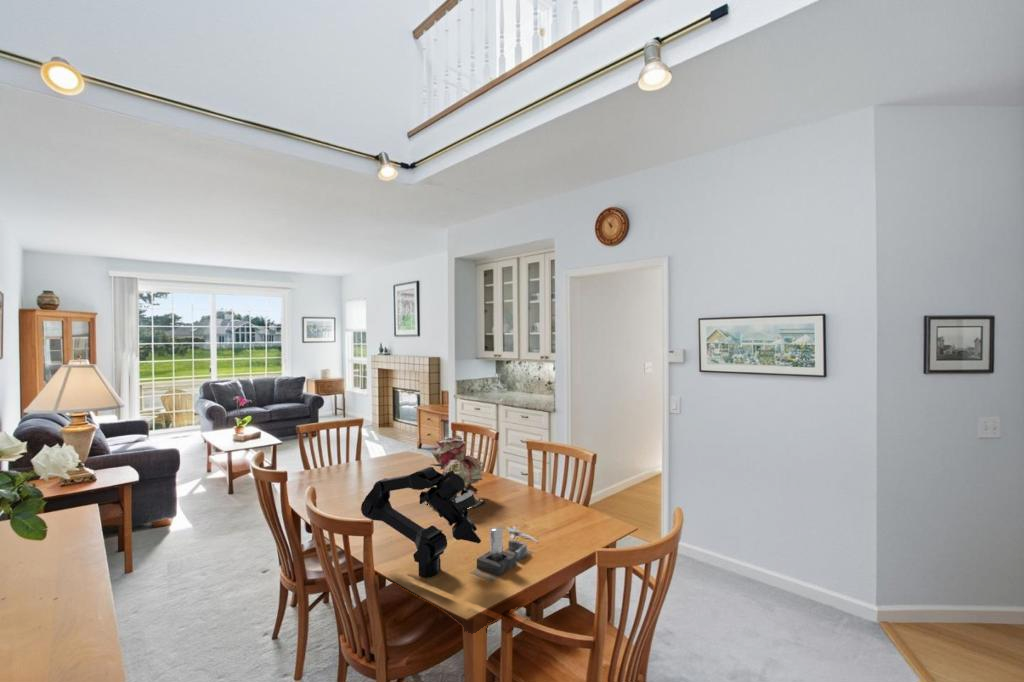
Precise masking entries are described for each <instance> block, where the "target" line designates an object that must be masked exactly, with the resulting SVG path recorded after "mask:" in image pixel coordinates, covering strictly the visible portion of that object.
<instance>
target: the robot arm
mask: <svg viewBox="0 0 1024 682" xmlns="http://www.w3.org/2000/svg"><path fill="white" fill-rule="evenodd" d="M436 486H437V487H436ZM404 489H411V490H415V491H421V492H420V494H419V496H418V497H419V505H422V504H425V503H428V504H429V505H430V506H431V507H432V509H433V508H434V509H435V510H434V509H433V510H434V511H435V512H437V514H438V516H439V518H443V519H444V520H446V521H447V522H448V526H450V527H451V534H452V537H453V538H454V539H455V540H456V541H460V540H462V541H465V542H466V541H467V542H471V543H474V544H477V545H479V544H481V542H482V539H480V537H479V536H478V534H477V532H476V531H477V530H478V527H477V526H476V525H475V523H474V521H473V520H472V519H471V518H470V515H469V514H468V513H469V512H468V511H469V509H467V508H469V507H471V506H474V505H475V504H476V503H477V501H476V499H475V498H476V497H475V494H474V492H473V491H471V490H467V489H465V483H464V480H463V478H462V477H460V476H459V475H458V474H455V473H454V472H453V470H452V471H450V472H448V473H447V474H446V475H443V473H440V472H439V471H438V470H436V469H435V468H434V467H432V466H428V467H425V468H423V469H421V470H416V471H415V472H413V473H411V474H406V475H401V476H400V475H399V476H395V477H390V478H383V479H380V480H377V481H376V482H375V483H374V484H373V488H372V489H371V490H370V491H369V492H368V494H367V495H366V496H365V498H364V500H363V501H362V502H361V507H360V511H361V514H362V516H364V517H365V518H367V519H369V520H371V521H378V522H383V523H385V524H386V525H387V526H389V527H391V529H394V530H395V531H397V532H398V533H400V535H403V537H406V538H407V539H409V540H410V541H412V542H413V543H414V545H415V548H416V549H417V550H416V551H415V552H414V553H413V559H414V563H417V564H418V576H419V577H420V578H424V579H428V578H433V577H436V576H437V575H439V572H440V571H441V569H442V568H441V565H442V564H441V558H440V557H441V555H443V554H444V552H445V550H446V549H447V547H448V539H447V536H446V534H445V533H443V529H442V530H441V529H439V528H437V527H436V526H435V525H433V524H432V525H430V526H429V527H426V528H424V527H423V526H421V525H420V524H418V523H416V522H415V521H414V520H412V519H411V518H409V517H407V516H406V515H404V514H402V513H400V512H399V511H397V510H396V509H394V508H393V507H392V504H391V502H390V498H391V492H392V491H397V490H398V491H399V490H404ZM425 489H427V490H426V491H425ZM423 490H424V491H423ZM457 494H460V495H461V496H460V495H459V497H458V498H456V499H455V498H454V496H455V495H457ZM425 501H426V502H425ZM430 506H429V507H430ZM431 507H430V508H431Z"/></svg>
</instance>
